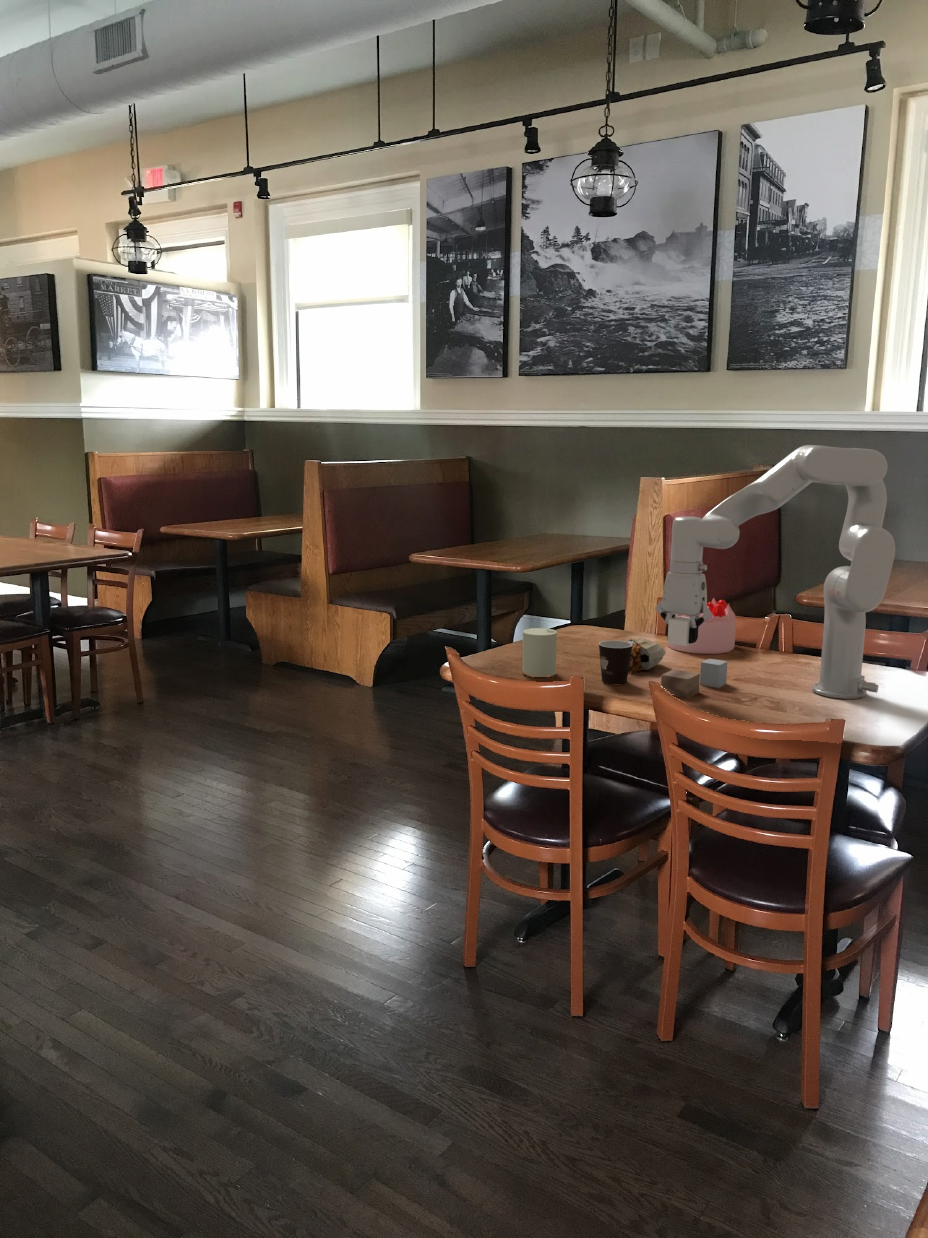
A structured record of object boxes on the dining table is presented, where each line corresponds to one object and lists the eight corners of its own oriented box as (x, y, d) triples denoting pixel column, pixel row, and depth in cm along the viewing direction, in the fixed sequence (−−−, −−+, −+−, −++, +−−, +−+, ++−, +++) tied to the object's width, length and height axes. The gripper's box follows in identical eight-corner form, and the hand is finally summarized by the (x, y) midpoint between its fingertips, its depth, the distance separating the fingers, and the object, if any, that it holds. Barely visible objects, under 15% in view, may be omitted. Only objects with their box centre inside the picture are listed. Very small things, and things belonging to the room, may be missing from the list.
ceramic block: (695, 642, 239) (696, 618, 238) (686, 646, 235) (687, 621, 234) (676, 639, 242) (677, 616, 241) (667, 643, 238) (668, 619, 237)
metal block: (698, 693, 242) (699, 673, 241) (686, 699, 236) (688, 679, 235) (672, 688, 246) (673, 669, 245) (660, 694, 241) (661, 674, 240)
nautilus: (643, 683, 252) (591, 677, 261) (676, 661, 269) (626, 657, 278) (642, 653, 251) (590, 649, 259) (675, 634, 268) (625, 630, 276)
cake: (655, 648, 290) (657, 601, 287) (686, 637, 305) (688, 592, 302) (716, 658, 277) (718, 609, 275) (745, 646, 292) (748, 599, 290)
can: (558, 678, 255) (559, 633, 253) (522, 677, 255) (523, 633, 253) (554, 669, 264) (555, 626, 262) (520, 669, 264) (521, 626, 262)
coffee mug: (594, 677, 255) (595, 640, 253) (626, 677, 256) (628, 640, 254) (603, 689, 244) (605, 650, 242) (637, 689, 244) (639, 650, 242)
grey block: (726, 684, 250) (727, 661, 249) (718, 688, 246) (719, 665, 245) (708, 680, 253) (709, 658, 252) (699, 684, 249) (700, 662, 248)
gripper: (725, 569, 233) (720, 643, 236) (661, 562, 243) (657, 633, 247) (712, 573, 227) (707, 649, 231) (646, 566, 237) (643, 638, 241)
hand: (681, 640), depth 238 cm, fingers closed on ceramic block, 5 cm apart
